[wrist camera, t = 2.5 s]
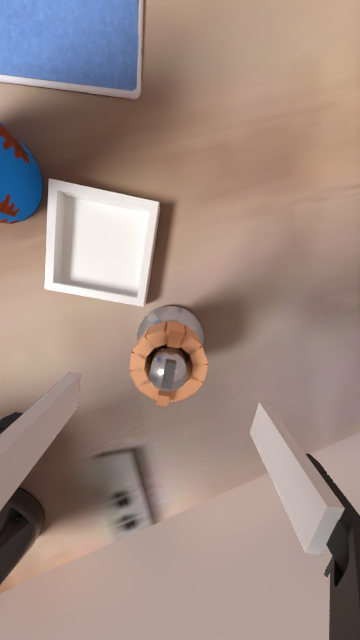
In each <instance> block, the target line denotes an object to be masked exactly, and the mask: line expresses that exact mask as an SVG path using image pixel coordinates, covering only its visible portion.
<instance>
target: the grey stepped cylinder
mask: <svg viewBox="0 0 360 640" xmlns="http://www.w3.org/2000/svg"><path fill="white" fill-rule="evenodd" d="M163 321H166V323H167V322H168V321H173V322H179V323H183V324H184V325H185V324H186V325H187V326H188V327H189V328H190V329H192V330H193V331H194V332H195V333H196V334H197V335H198V337H199V339H200V342H201V344H202V347H203V343H204V334H203V330H202V327H201V325H200V323H199V321H198V319H197V318H196V317H195V316H194V315H193V314H192V313H191V312H189V311H188V310H186V309H184V308H181V307H177V306H164V307H160V308H157V309H155V310H153V311H152V312H150V313H149V314H148V315H147V316H146V317H145V318H144V320H143V321H142V323H141V325H140V327H139V330H138V334H137V342H138V340H139V339H140V337H141V336H142V335H143V334H144V333H145V331H146V330H147V329H148V328H149V327H151V326H152V325H155V324H158V323H161V322H163ZM149 356H150V358H151V361H152V365H151V369H150V380H151V382H152V384H153V385H154V386H155V387H156V388H158V389H159V390H162V391H167V392H170V391H175V390H177V389H179V388H180V387H182V386H183V384H184V383H185V381H186V378H187V370H186V363H187V362H188V361H189V356H190V354H189V353H187V352H186V351H185V350H184V349H182V348H181V347H180V348H174V347H168V346H167V344H165V345H162V346H159V347H156V348H154V349H153V350H152V351H151V352H150V354H149Z"/></svg>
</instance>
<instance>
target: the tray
mask: <svg viewBox="0 0 360 640" xmlns="http://www.w3.org/2000/svg"><path fill="white" fill-rule="evenodd" d="M159 216H160V205H159V202H156V201H152V200H147V199H142V198H138V197H133V196H129V195H124V194H119V193H115V192H110V191H105V190H101V189H96V188H92V187H87V186H82V185H78V184H73V183H69V182H64V181H59V180H55V179H50V178H49V185H48V212H47V238H46V265H45V289H48V290H53V291H59V292H65V293H70V294H76V295H81V296H87V297H92V298H98V299H103V300H109V301H115V302H120V303H126V304H131V305H137V306H142V307H144V306H145V305H146V302H147V295H148V288H149V282H150V275H151V269H152V262H153V255H154V249H155V242H156V235H157V229H158V222H159Z"/></svg>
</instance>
